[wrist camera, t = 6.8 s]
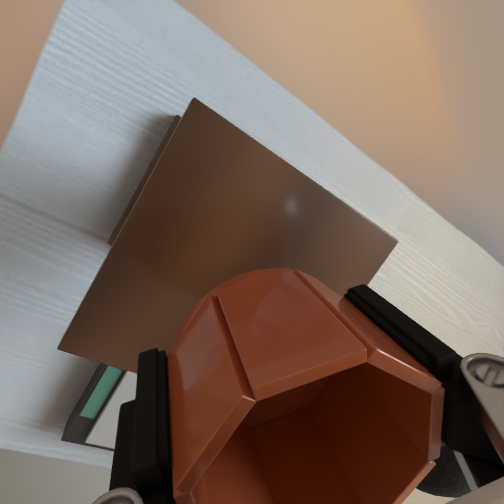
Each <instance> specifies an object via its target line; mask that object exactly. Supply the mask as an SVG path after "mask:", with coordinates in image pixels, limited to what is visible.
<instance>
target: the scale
mask: <svg viewBox="0 0 504 504" xmlns="http://www.w3.org/2000/svg"><path fill="white" fill-rule="evenodd" d="M136 383H137V374H136V373H133V372H130V371H126V370H123V369H120V368H116V367H113V366H110V365H107V364H103V363H100V365H99V367H98V368H97V370H96V372H95V374H94V375H93V377H92V379H91V381H90V382H89V384H88V386H87V387H86V389H85V391H84V393H83V394H82V396H81V398H80V400H79V401H78V403H77V405H76V407H75V408H74V410H73V412H72V414H71V415H70V417H69V419H68V420H67V423H66V426H65V429H64V432H63V436H62V439H61V440H62V441H66V442H71V443H76V444H81V445H86V446H91V447H96V448H101V449H105V450H110V451H114V449H115V441H116V433H117V425H118V418H119V410H120V406H121V404H122V403H125V402H128V401H131V400H134V399H135V396H136Z"/></svg>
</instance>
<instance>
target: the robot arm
mask: <svg viewBox="0 0 504 504" xmlns="http://www.w3.org/2000/svg"><path fill="white" fill-rule="evenodd" d="M344 297H345V298H346V299H348V300H349V301H350V302H351V303H352V304H353V305H354V306H355V307H357V308H358V309H359V310H360V311H361V312H362V313H363V314H365V315H366V316H367V317H368V318H369V319H370V320H371V321H372V322H374V323H375V324H376V325H377V326H378V327H379V328H380V329H381V330H383V331H384V332H385V333H386V334H387V335H388V336H389V337H391V338H392V339H393V340H394V341H395V342H396V343H397V344H398V345H400V346H401V347H402V348H403V349H404V350H405V351H406V352H407V353H409V354H410V355H411V356H412V357H413V358H414V359H415V360H417V361H418V362H419V363H420V364H421V365H422V366H423V367H424V368H426V369H427V370H428V371H429V372H430V373H431V374H432V375H433V376H435V377H436V378H437V379H438V380H439V381H440V382H441V383H442V385H441V386H442V387H443V388H444V389H445V397H444V409H443V421H442V433H441V445H440V448H441V447H443V446H445V445H446V446H447V447H448V448H449V449H450V450H453V451H454V454H455V456H456V458H457V460H458V463H459V465H460V467H461V469H462V471H463V474H464V476H465V478H466V480H467V483H468V485H469V487H470V489H471V491H472V492H469V493H467V494H465V495H463V496H461V497H459V498H457V499H454V500H452V501H450V502H448V503H446V504H504V358H503V357H500V356H497V355H493V354H488V353H475V354H470V355H468V356H466V357H464V358H462V357H461V356H460V355H458V354H457V353H456V352H455V351H454V350H453V349H451V348H450V347H449V346H447V345H446V344H445V343H443V342H442V341H441V340H439V339H438V338H437V337H435V336H434V335H432V334H431V333H430V332H428V331H427V330H426V329H424V328H423V327H422V326H420V325H419V324H418V323H416V322H415V321H414V320H412V319H411V318H410V317H408V316H407V315H406V314H404V313H403V312H402V311H400V310H399V309H397V308H396V307H395V306H393V305H392V304H391V303H389V302H388V301H387V300H385V299H384V298H383V297H381V296H380V295H379V294H377V293H376V292H375V291H373V290H372V289H371V288H369V287H368V286H367V285H365V284H361V285H358V286H355V287H352V288H349V289H348V290H347V293H346V294H344ZM167 362H168V357H167V354H166V352H165V350H163V351H159V350H158V348H154V349H150V350H147V351H144V352H141V353H139V357H138V370H137V383H136V396H135V399H134V400H131V401H128V402H125V403H122V404H121V406H120V410H119V418H118V425H117V433H116V441H115V449H114V456H113V464H112V472H111V480H110V488H109V491H108V492H107V493H105V494H103V495H102V496H100V497H99V498H98V499H97V500H96V501H94V502H93V503H92V504H176V502H175V500H174V498H173V481H172V458H171V437H170V417H169V396H168V375H167Z"/></svg>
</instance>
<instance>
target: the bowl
mask: <svg viewBox="0 0 504 504" xmlns="http://www.w3.org/2000/svg"><path fill="white" fill-rule="evenodd" d="M167 375H168V396H169V417H170V437H171V458H172V481H173V498H174V500H175V502H176V504H402V503H403V502H404V500H405V499H406V498H407V497H408V496H409V495H410V493H411V492H412V491H413V490H414V489H415V488H416V487H417V485H418V484H419V483H420V482H421V481H422V480H423V479H424V477H425V476H426V475H427V474H428V473H429V472H430V470H431V469H432V468H433V467H434V466H435V465H436V463H435V462H434V461H433V460H434V459H437V458H439V457H440V445H441V433H442V421H443V409H444V397H445V389H444V388H443V387H442V386H441V385H442V383H441V382H440V381H439V380H438V379H437V378H436V377H435V376H433V375H432V374H431V373H430V372H429V371H428V370H427V369H426V368H424V367H423V366H422V365H421V364H420V363H419V362H418V361H417V360H415V359H414V358H413V357H412V356H411V355H410V354H409V353H407V352H406V351H405V350H404V349H403V348H402V347H401V346H400V345H398V344H397V343H396V342H395V341H394V340H393V339H392V338H391V337H389V336H388V335H387V334H386V333H385V332H384V331H383V330H381V329H380V328H379V327H378V326H377V325H376V324H375V323H374V322H372V321H371V320H370V319H369V318H368V317H367V316H366V315H365V314H363V313H362V312H361V311H360V310H359V309H358V308H357V307H355V306H354V305H353V304H352V303H351V302H350V301H349V300H348V299H346V298H345V297H343V296H341V295H340V294H338V293H336V292H335V291H333V290H331V289H330V288H328V287H327V286H326V285H325V284H323V283H322V282H321V281H319V280H318V279H316V278H315V277H313V276H311V275H309V274H306V273H303V272H301V271H299V270H298V269H295V270H291V269H289V268H287V269H286V268H268V269H259V270H255V271H250V272H247V273H244V274H241V275H238V276H236V277H233V278H231V279H229V280H227V281H225V282H223V283H222V284H220V285H219V286H217V287H216V288H214V289H213V290H211V291H210V292H209V293H208V294H206V295H205V296H204V297H203V298H202V299H201V300H200V301H199V302H198V303H197V304H196V305H195V306H194V307H193V309H192V310H191V311H190V313H189V314H188V315H187V317H186V318H185V320H184V322H183V324H182V325H181V327H180V329H179V332H178V334H177V337H176V340H175V344H174V347H173V348H172V350H171V351H170V353H169V355H168V362H167Z"/></svg>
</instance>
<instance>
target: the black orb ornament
mask: <svg viewBox="0 0 504 504" xmlns="http://www.w3.org/2000/svg"><path fill="white" fill-rule="evenodd" d="M433 461H434V462H435V463H436V465H435V466H434V467H433V468H432V469H431V470H430V472H429V473H428V474H427V475H426V476H425V477H424V479H423V480H422V481H421V482H420V483H419V484H418V485H417V487H416V488H417V489H419V490H421V491H423V492H426V493H429V494H432V495H435V496H443V497H453V498H456V497H461V496H463V495H465V494H467V493H469V492H472V491H471V489H470V487H469V485H468V483H467V480H466V478H465V476H464V474H463V471H462V469H461V467H460V465H459V463H458V460H457V458H456V456H455V454H454V451H453V450H450V449H449V448H448V447H447V446H446V445H445V446H443V447H441V448H440V457H439V458H437V459H434V460H433Z"/></svg>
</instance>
